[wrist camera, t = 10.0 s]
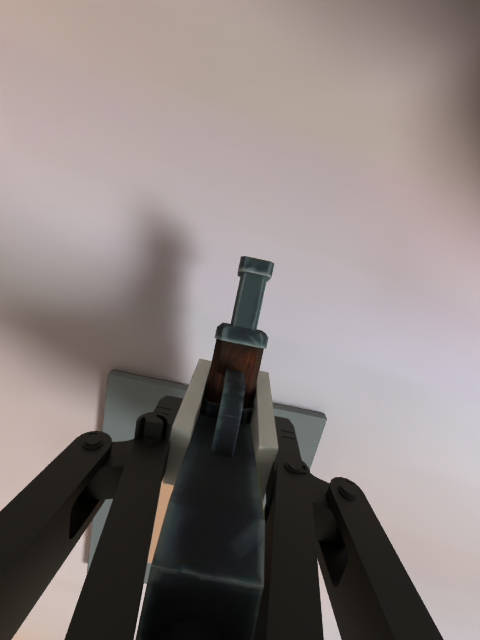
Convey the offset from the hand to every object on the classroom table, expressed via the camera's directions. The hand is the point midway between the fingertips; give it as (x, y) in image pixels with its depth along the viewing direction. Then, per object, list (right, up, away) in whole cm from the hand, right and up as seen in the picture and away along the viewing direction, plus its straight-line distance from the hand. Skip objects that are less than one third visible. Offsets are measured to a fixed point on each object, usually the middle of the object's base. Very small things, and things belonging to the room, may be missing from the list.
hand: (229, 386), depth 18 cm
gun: (0, 0, +2) cm, 2 cm away
